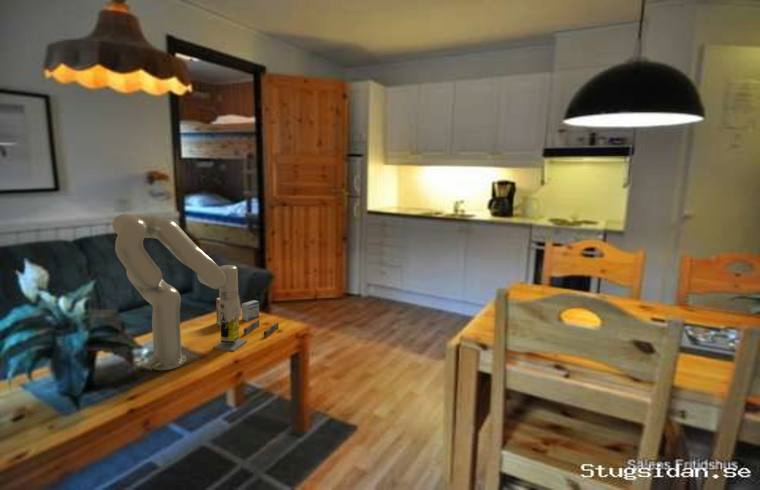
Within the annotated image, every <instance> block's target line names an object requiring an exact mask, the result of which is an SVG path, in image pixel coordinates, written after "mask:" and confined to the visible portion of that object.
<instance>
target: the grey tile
mask: <svg viewBox="0 0 760 490" xmlns="http://www.w3.org/2000/svg"><path fill="white" fill-rule="evenodd" d="M247 342H248V341H247V340H246V339H245V340H244V339H240V338H238V339H237V340H236V341H235V342H234V343H225V342H221V341H220V342H218V343H216V344H214V345H213V346H212V348H213V349H215V350H221V351H229V352H236V351H237V350H238V349H239V348H241V347H242V346H244V345H245V344H247Z"/></svg>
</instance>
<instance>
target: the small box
mask: <svg viewBox="0 0 760 490" xmlns="http://www.w3.org/2000/svg"><path fill="white" fill-rule="evenodd" d="M219 301H220V297H216V298H215V305H216V306H215V307H216V309H215V310H216V312H215V313H216V323H217V322H218V319H219Z"/></svg>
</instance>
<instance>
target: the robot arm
mask: <svg viewBox="0 0 760 490" xmlns="http://www.w3.org/2000/svg"><path fill="white" fill-rule="evenodd" d="M112 230H113V231H114V233H115V234H117V236H116V237H115V245H114V248H115V249H114V250H115V254H116V256H117V258H118V260H119V261H120V263H121V264H122V265H123V266H124V268H125V270H126V271H125V272H126V276H127V279H128V280H129V281H130V283H131V284H132V285H133V287H135V289H136V291H137V292H138V293H139V294H140V295H141V296H142V298H143V299H144V300H145V301H146V302H147V303H149V304H150V305H151V306H152V316H151V326H152V342H153V356H152V357H151V358H152V359H151V360H150V361H149V362H147V363H146V364H145V365H144V367H145V368H146V369H153V370H155V371H168V370H174V369H177V368H179V367H181V366H183V365H184V364H186V362H187V357H186V355H184V354H182V339H181V338H182V336H181V335H182V334H181V323H180V322H181V321H180V320H181V317H180V312H181V311H180V310H181V304H182V303H181V302H182V301H181V300H182V299H181V297H182V296H181V294H180V292H179V290H177V289H176V287H174V286H172V285H170V284H169V283H167V282H166V281H165V280H164V279H163V273H162V271H161V269H160V267H159V266H158V265H157V263H155V262H154V260H153V259H152V258H151V256H150V255H149V254H148V252H147V251H146V248H145V247H144V240H145V239H156V240H158V241H159V242H160V243H161V244H162V245H163V246H164V247H165V248H167V250H168V251H169V252H170V253H171V254H172V255H173V256H174V257H175V258H176V259H177V260H178V261H179V262H181V264H183V265H185V266H187V267H188V268H189V269H191V270H193V271H194V272H195V273H196V275H197V280H198V281H199V282H200V283H201V284H202V285H205V286H206V287H209V288H211V289H212V290H213V289H214V290H218V291H219V292H218V293H219V298H220V301H219V319H218V322H217V321H216V324H217V325H218V327H219V329H220V337H221V336H222V337H228V336H229V335H228V328H227V327H228V322H231V321H232V319H233V318H235V317H237V318H238V317H239V318H240V316H242V306H241V299H240V295H239V278H238V277H239V274H238V273H239V271H238V267H237V266H236V265H234V264H224V265H221V266H219V264H217V263H216V262H215V261H214V260H213V259H212V258H210V256H209V255H207V254H206V252H204V251H203V250H202V249H201V248H200V247H199V246H198V245H197V244H196V243H195V242H194V241H193V240H192V239H191V238H190V237H189V236H188V235H187V234H186V232H185V231H184V230H183V229H182V228H181V227H180V226H179V225H178V224H177V223H176V222H175V221H173V220H171V219H169V218H166V217H160V216H148V215H140V214H133V213H132V214H131V213H123V214H119V215H117V216H116V217H115V218H114V220H113V221H112ZM223 319H225V321H223ZM224 322H225V323H226V324H225V325H224V324H223V323H224Z"/></svg>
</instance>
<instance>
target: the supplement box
mask: <svg viewBox="0 0 760 490" xmlns="http://www.w3.org/2000/svg"><path fill="white" fill-rule="evenodd" d="M239 318H240V316H239V317H238V318H237V317H235V318H233V319H232V321H231V322H228V327H227V328H228V335H229V336H228V337H222V336H221V335H220V342H225V343H234V342H235V341H236V340H237V339H240V331H239V330H240V327H239V326H240V325H239V322H240V320H239ZM223 321H225V319H223ZM223 324H224V325H225V324H226V323H225V322H224V323H223Z"/></svg>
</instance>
